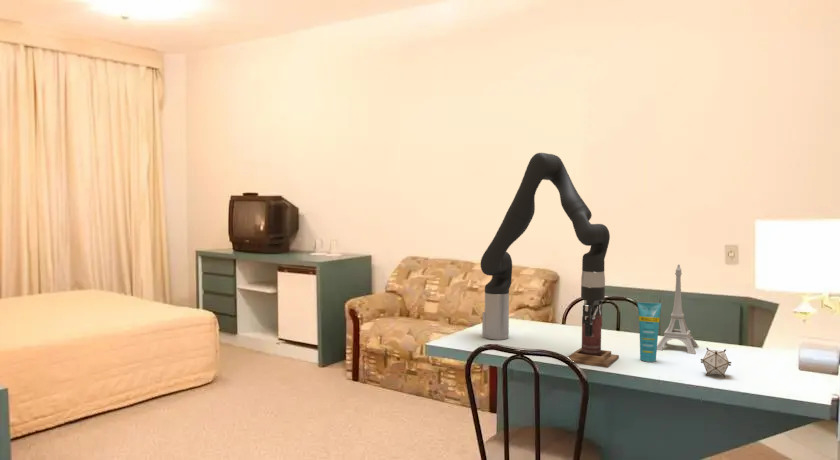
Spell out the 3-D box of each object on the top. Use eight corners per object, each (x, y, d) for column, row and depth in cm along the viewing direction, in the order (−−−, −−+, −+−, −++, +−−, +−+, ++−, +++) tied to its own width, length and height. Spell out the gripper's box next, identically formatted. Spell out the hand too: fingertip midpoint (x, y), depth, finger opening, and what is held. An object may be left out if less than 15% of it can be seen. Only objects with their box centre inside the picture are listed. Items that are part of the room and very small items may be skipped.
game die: (707, 386, 192) (689, 356, 196) (733, 376, 192) (714, 346, 197) (716, 379, 184) (697, 348, 188) (743, 368, 184) (723, 337, 189)
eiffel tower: (659, 342, 235) (661, 262, 234) (698, 346, 229) (700, 264, 227) (654, 350, 223) (656, 265, 222) (695, 354, 217) (697, 267, 216)
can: (602, 359, 205) (602, 316, 205) (581, 358, 206) (582, 315, 206) (601, 355, 211) (601, 313, 210) (581, 354, 212) (581, 312, 212)
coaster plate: (564, 361, 206) (564, 354, 206) (577, 352, 218) (577, 345, 218) (607, 367, 199) (607, 359, 199) (618, 358, 211) (618, 350, 211)
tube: (636, 361, 207) (637, 302, 206) (636, 357, 212) (637, 300, 211) (660, 363, 205) (661, 304, 204) (659, 359, 209) (661, 301, 209)
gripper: (587, 281, 216) (587, 329, 216) (575, 286, 203) (574, 336, 204) (610, 283, 212) (609, 331, 212) (598, 288, 200) (597, 339, 200)
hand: (592, 333), depth 208 cm, fingers open, 8 cm apart
